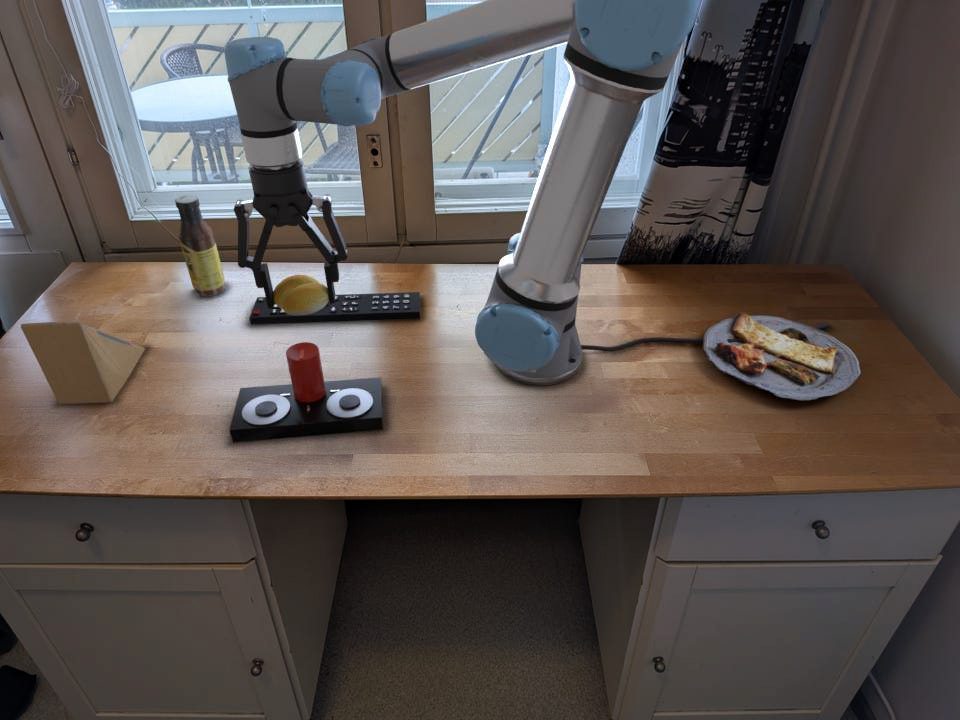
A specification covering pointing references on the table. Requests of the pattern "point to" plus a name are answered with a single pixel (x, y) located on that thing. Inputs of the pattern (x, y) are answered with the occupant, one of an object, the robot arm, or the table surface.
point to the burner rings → (278, 407)
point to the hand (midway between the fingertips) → (302, 301)
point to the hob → (308, 413)
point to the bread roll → (300, 295)
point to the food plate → (781, 356)
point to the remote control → (345, 309)
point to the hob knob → (306, 372)
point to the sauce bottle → (199, 248)
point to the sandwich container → (81, 360)
